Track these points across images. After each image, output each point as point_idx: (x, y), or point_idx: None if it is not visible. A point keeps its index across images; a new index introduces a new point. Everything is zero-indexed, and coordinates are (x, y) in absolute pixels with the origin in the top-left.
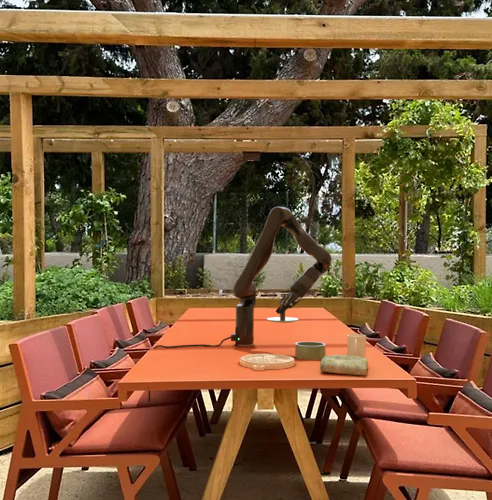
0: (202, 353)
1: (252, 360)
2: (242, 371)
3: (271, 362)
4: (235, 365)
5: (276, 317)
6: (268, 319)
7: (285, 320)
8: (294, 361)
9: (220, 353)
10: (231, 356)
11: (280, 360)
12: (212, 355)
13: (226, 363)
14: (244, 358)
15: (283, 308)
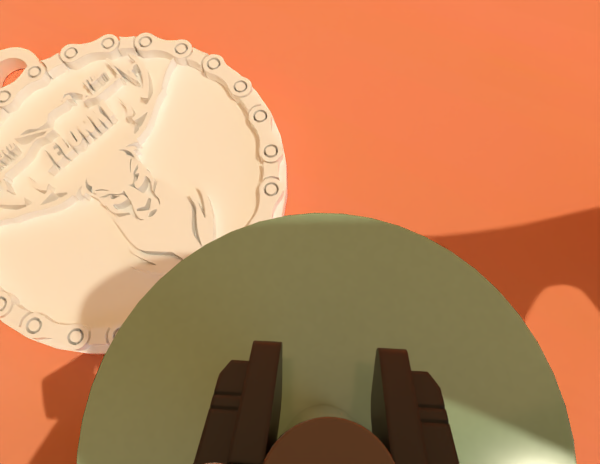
0: (585, 3)
1: (100, 74)
2: (28, 4)
3: (5, 148)
4: (175, 29)
5: (545, 462)
6: (341, 222)
7: (126, 376)
8: (4, 322)
9: (558, 89)
10: (434, 107)
11: (12, 216)
12: (502, 28)
13: (244, 11)
14: (225, 86)
15: (205, 421)
